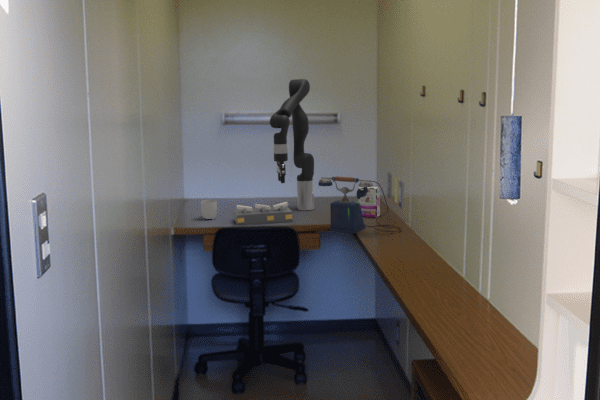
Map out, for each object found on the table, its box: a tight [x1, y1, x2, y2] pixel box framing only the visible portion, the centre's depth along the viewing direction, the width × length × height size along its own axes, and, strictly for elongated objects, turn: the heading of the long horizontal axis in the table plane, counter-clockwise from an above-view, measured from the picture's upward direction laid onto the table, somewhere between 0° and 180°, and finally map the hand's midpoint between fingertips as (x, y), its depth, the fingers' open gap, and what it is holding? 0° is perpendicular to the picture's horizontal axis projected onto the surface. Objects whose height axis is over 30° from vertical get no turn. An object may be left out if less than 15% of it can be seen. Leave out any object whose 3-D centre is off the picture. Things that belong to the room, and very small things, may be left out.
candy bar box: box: [357, 186, 381, 219], centre depth 350 cm, size 11×5×16 cm, turn 62°
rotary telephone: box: [317, 176, 402, 235], centre depth 320 cm, size 41×22×27 cm, turn 60°
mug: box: [200, 199, 218, 219], centre depth 357 cm, size 13×9×10 cm
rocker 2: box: [272, 201, 289, 210], centre depth 348 cm, size 8×4×2 cm, turn 102°
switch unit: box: [233, 206, 293, 226], centre depth 346 cm, size 30×14×8 cm, turn 102°
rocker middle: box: [254, 203, 272, 210], centre depth 345 cm, size 8×4×2 cm, turn 103°
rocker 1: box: [236, 204, 253, 211], centre depth 343 cm, size 8×4×2 cm, turn 103°
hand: (281, 181), depth 347 cm, fingers open, 8 cm apart
